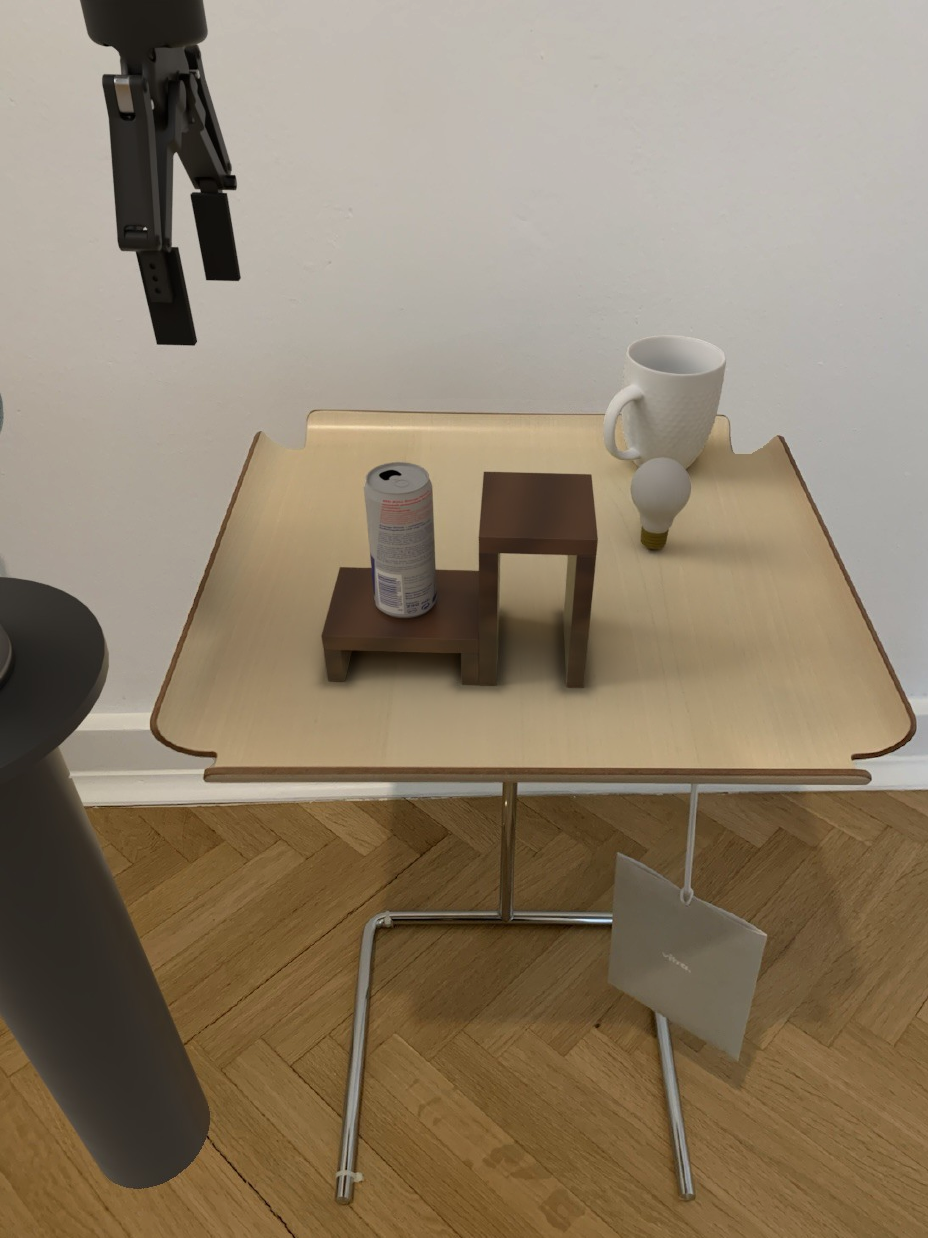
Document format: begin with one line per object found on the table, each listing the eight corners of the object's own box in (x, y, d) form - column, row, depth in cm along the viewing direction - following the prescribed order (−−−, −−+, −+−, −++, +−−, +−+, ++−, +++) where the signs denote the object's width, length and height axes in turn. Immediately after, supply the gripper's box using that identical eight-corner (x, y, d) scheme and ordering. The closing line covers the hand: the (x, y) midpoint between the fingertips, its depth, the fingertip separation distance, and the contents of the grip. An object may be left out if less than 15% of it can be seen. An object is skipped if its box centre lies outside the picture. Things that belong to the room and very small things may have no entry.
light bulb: (676, 568, 95) (691, 480, 88) (618, 558, 96) (628, 470, 89) (684, 538, 99) (699, 451, 92) (629, 529, 100) (639, 442, 94)
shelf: (327, 681, 81) (306, 532, 71) (344, 610, 88) (327, 467, 79) (583, 688, 81) (597, 539, 71) (579, 617, 88) (591, 473, 79)
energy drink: (414, 576, 84) (407, 454, 76) (449, 605, 81) (445, 480, 73) (362, 597, 82) (349, 473, 74) (396, 628, 79) (387, 502, 71)
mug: (634, 505, 104) (648, 392, 95) (570, 465, 110) (577, 356, 102) (727, 467, 111) (748, 358, 102) (662, 431, 117) (676, 326, 109)
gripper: (132, -10, 50) (208, 377, 64) (241, -47, 69) (282, 258, 83) (-10, -14, 50) (98, 374, 64) (138, -50, 69) (196, 256, 83)
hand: (202, 309), depth 73 cm, fingers open, 13 cm apart
